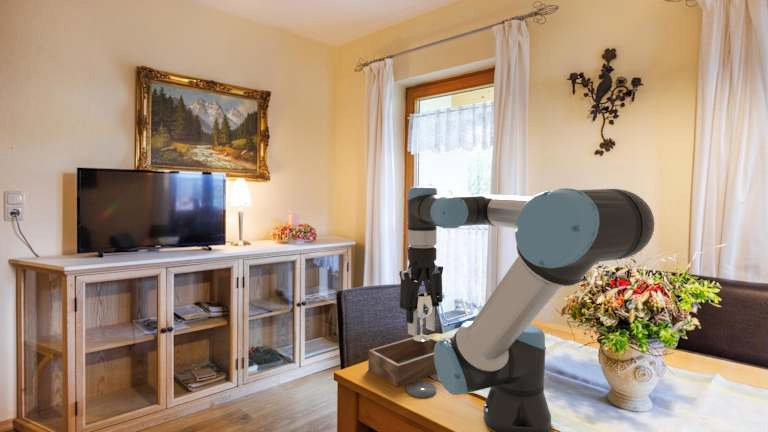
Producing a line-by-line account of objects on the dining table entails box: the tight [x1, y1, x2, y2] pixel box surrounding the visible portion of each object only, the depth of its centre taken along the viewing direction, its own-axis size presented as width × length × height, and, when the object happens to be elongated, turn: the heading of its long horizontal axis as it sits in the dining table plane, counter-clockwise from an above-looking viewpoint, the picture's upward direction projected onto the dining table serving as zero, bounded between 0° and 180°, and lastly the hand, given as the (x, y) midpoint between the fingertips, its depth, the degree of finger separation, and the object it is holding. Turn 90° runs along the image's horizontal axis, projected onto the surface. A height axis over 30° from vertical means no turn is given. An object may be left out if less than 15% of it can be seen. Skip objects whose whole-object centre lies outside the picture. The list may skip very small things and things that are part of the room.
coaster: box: [405, 380, 437, 398], centre depth 117 cm, size 8×8×1 cm
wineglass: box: [413, 291, 433, 342], centre depth 115 cm, size 6×6×12 cm
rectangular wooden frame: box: [367, 333, 439, 388], centre depth 130 cm, size 14×22×6 cm, turn 127°
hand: (421, 331), depth 115 cm, fingers closed on wineglass, 6 cm apart
